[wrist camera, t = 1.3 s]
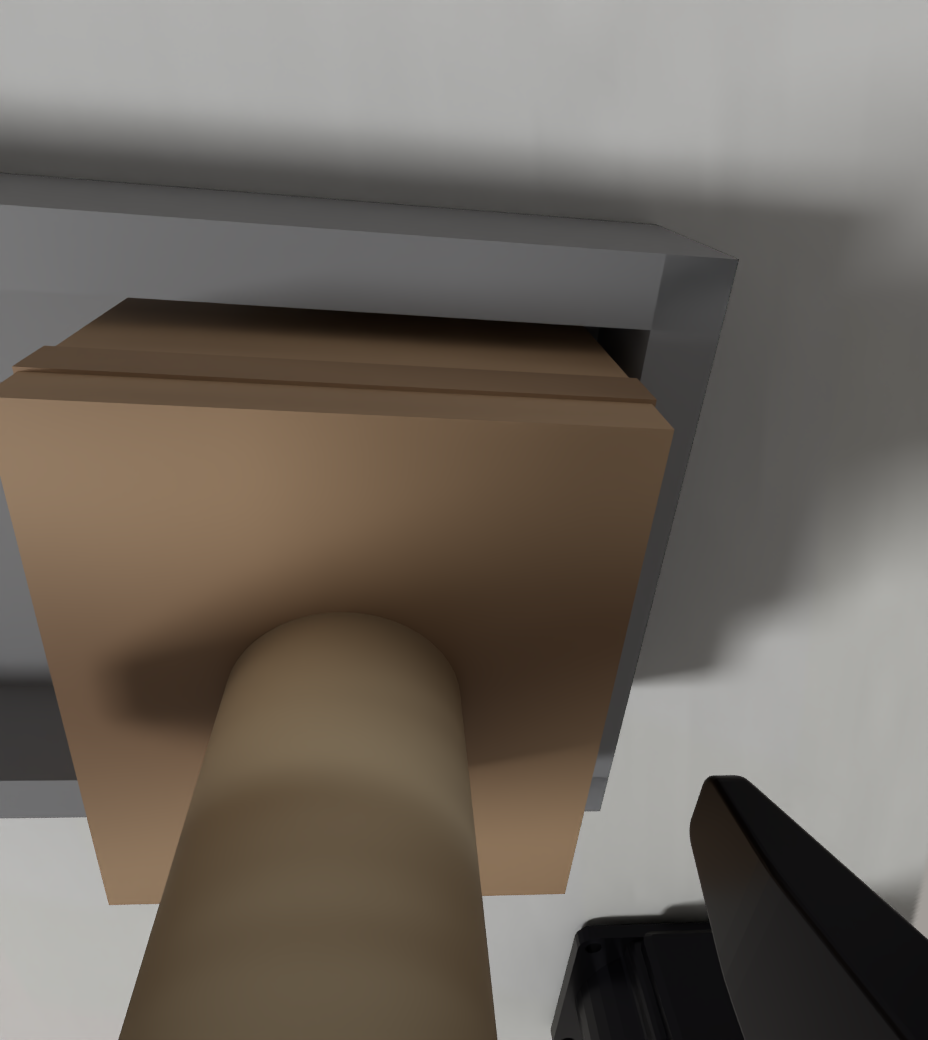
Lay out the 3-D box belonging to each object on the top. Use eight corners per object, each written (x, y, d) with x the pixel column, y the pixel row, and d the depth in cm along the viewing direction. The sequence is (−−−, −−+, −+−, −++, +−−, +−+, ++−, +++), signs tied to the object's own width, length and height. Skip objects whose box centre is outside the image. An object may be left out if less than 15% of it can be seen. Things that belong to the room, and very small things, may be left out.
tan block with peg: (521, 683, 16) (667, 1361, 7) (189, 680, 15) (-89, 1433, 7) (579, 313, 12) (1041, 822, 3) (136, 285, 11) (-731, 849, 3)
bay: (565, 692, 18) (599, 811, 15) (-336, 686, 16) (-513, 823, 13) (656, 225, 13) (738, 259, 10) (-674, 119, 10) (-1111, 122, 7)
